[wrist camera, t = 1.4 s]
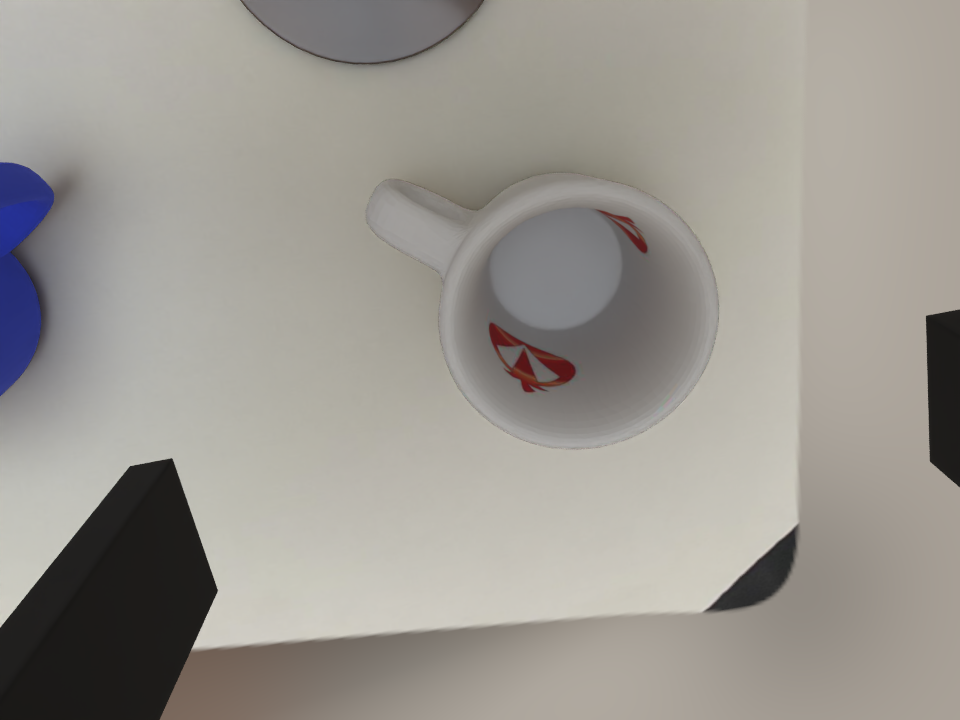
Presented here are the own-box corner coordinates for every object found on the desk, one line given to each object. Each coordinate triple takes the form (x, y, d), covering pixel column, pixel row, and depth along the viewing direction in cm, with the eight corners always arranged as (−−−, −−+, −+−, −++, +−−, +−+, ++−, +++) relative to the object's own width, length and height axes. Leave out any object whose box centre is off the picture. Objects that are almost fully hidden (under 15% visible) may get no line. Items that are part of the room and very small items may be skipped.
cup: (338, 274, 32) (300, 342, 25) (433, 70, 30) (422, 76, 22) (594, 395, 34) (632, 494, 26) (702, 212, 32) (776, 262, 24)
